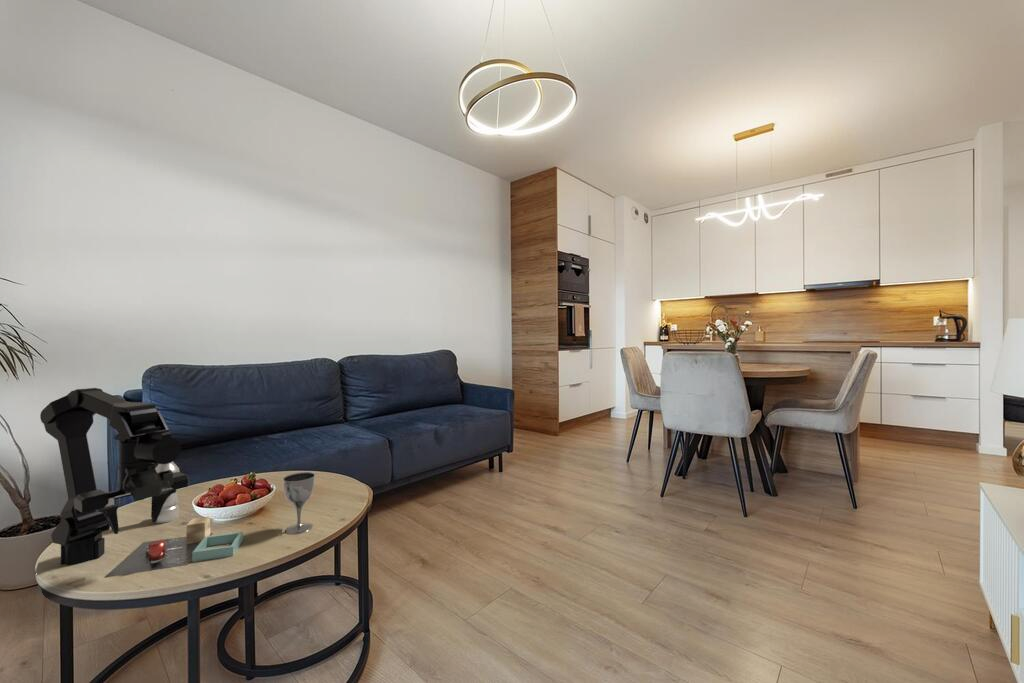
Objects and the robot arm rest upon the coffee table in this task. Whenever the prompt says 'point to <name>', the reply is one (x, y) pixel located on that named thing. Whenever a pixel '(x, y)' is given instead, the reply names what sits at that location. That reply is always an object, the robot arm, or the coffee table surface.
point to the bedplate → (174, 557)
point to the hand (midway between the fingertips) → (135, 527)
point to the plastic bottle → (171, 504)
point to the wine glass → (298, 497)
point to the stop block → (198, 530)
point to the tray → (213, 553)
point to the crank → (156, 551)
